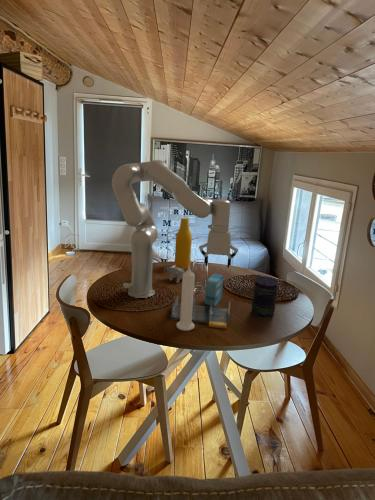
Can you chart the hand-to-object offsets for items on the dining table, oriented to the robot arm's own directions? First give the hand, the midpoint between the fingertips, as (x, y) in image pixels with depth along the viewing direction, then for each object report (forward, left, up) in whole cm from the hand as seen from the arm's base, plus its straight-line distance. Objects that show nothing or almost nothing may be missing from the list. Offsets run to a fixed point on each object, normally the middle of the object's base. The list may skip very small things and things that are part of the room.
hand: (217, 265), depth 160 cm
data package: (0, 0, -18) cm, 18 cm away
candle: (-9, -27, -18) cm, 33 cm away
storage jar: (+22, -6, -18) cm, 29 cm away
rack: (-4, -16, -18) cm, 24 cm away
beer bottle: (-22, +46, -18) cm, 54 cm away
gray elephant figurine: (-23, +23, -18) cm, 37 cm away
